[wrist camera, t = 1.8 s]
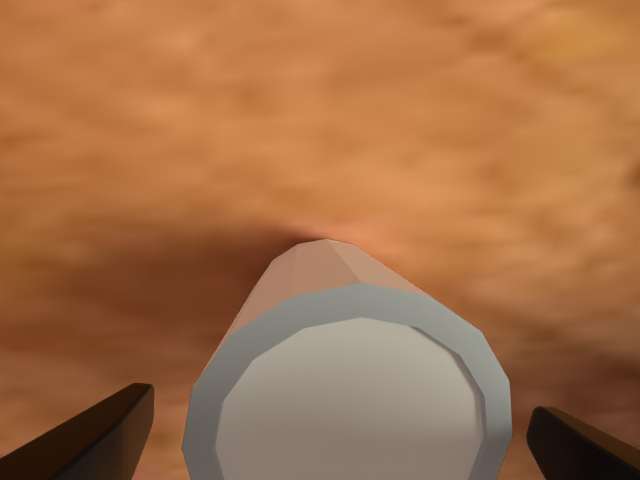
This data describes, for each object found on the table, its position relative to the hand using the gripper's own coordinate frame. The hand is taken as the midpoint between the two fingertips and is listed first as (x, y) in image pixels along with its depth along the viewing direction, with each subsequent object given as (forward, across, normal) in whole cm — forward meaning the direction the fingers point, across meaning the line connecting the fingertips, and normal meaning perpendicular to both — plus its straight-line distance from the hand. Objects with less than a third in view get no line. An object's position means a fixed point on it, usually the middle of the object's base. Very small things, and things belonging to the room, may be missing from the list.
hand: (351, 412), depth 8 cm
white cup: (+6, 0, 0) cm, 6 cm away
